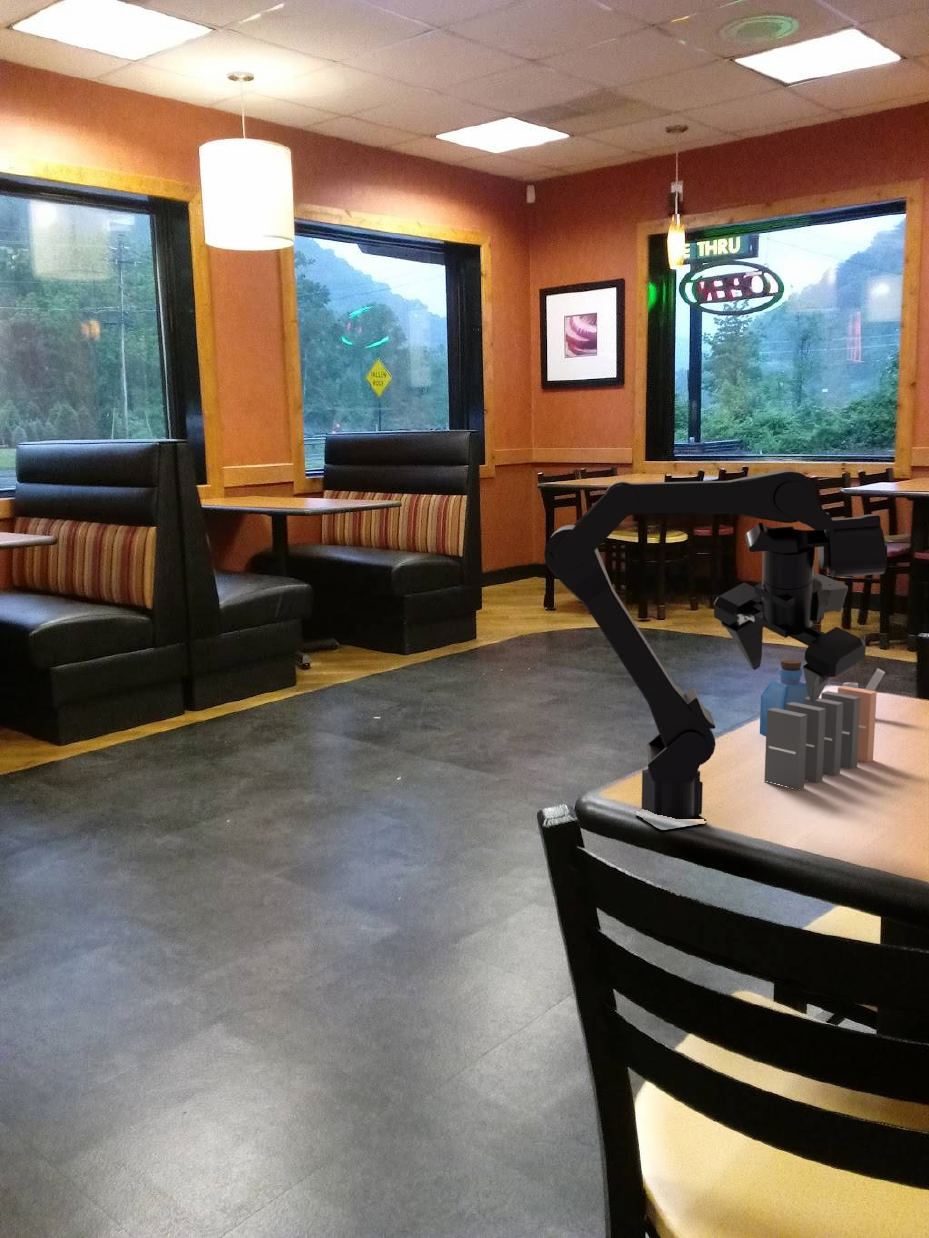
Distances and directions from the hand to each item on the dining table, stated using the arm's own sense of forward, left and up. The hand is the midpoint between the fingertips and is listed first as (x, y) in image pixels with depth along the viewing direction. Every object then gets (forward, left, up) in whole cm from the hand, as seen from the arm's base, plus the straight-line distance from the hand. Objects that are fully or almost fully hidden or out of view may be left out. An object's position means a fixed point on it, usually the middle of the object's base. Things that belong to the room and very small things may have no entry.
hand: (784, 683), depth 132 cm
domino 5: (+22, +12, -16) cm, 30 cm away
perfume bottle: (+20, +24, -16) cm, 35 cm away
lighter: (+39, +30, -16) cm, 52 cm away
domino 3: (+14, +9, -16) cm, 23 cm away
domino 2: (+9, +7, -16) cm, 20 cm away
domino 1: (+5, +6, -16) cm, 17 cm away
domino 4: (+18, +10, -16) cm, 26 cm away
